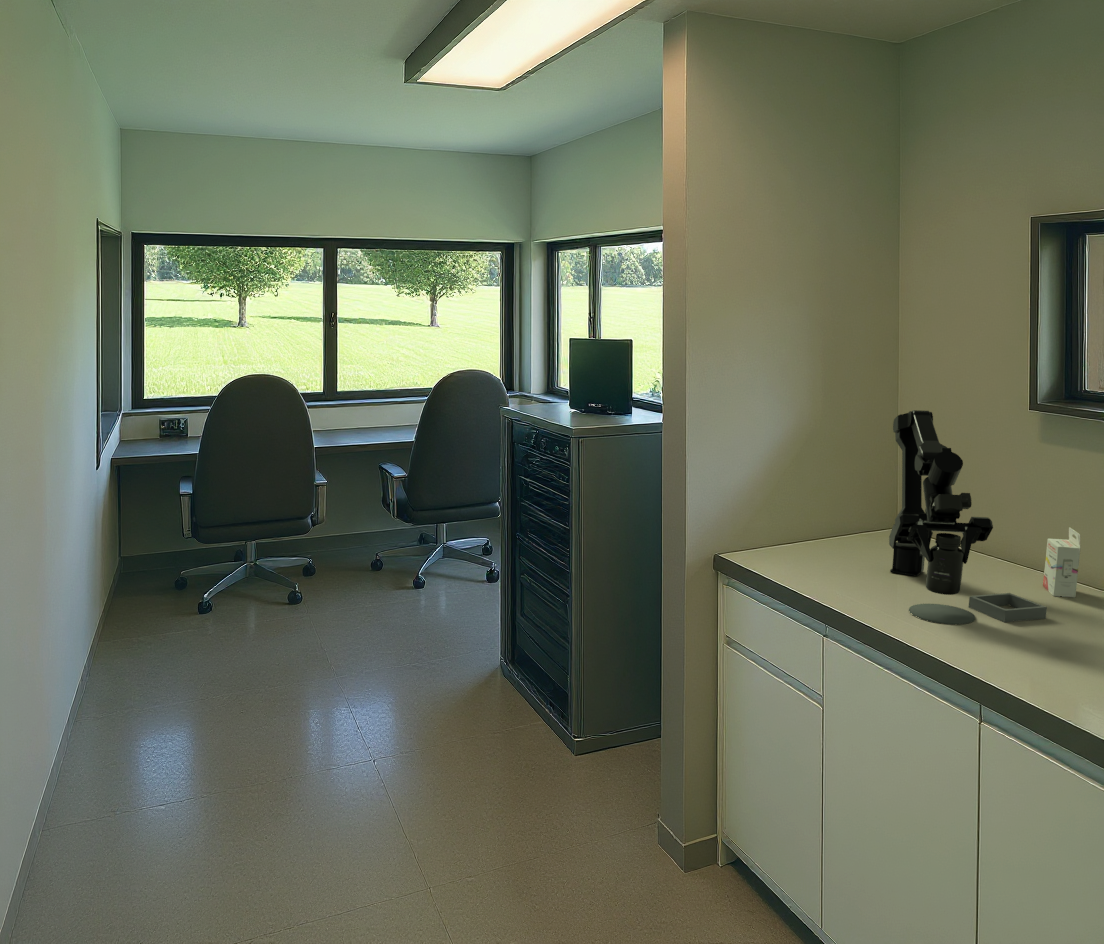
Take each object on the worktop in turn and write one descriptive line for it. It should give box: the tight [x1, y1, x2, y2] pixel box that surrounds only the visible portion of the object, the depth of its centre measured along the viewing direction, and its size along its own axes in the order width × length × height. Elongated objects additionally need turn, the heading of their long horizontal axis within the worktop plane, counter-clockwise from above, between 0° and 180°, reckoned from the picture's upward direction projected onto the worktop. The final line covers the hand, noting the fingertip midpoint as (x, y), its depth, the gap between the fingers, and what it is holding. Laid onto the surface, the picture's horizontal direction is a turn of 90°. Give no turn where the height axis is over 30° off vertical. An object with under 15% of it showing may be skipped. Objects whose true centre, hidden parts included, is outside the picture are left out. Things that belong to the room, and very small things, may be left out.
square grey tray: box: [968, 592, 1048, 623], centre depth 203 cm, size 11×11×2 cm
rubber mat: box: [908, 603, 976, 625], centre depth 201 cm, size 13×13×1 cm
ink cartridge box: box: [1042, 526, 1081, 598], centre depth 218 cm, size 9×5×15 cm, turn 168°
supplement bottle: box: [925, 532, 964, 596], centre depth 199 cm, size 7×7×12 cm
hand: (947, 561), depth 198 cm, fingers closed on supplement bottle, 7 cm apart
